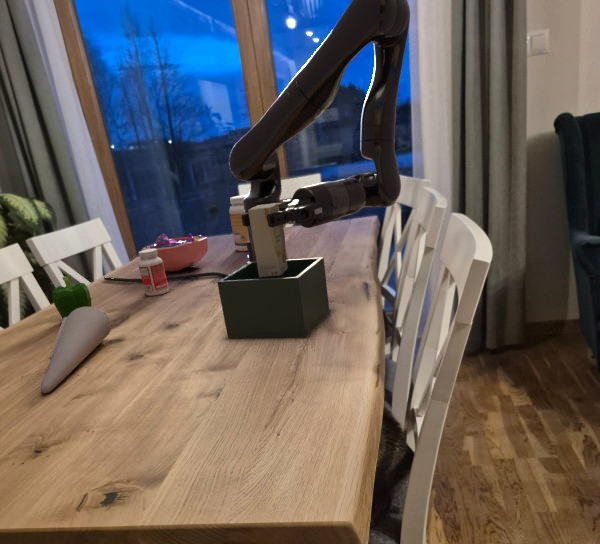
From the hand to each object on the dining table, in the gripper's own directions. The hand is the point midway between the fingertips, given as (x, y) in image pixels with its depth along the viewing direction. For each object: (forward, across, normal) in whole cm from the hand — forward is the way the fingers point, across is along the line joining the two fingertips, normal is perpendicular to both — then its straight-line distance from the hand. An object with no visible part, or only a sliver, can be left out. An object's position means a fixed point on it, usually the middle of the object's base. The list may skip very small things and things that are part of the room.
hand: (255, 220), depth 103 cm
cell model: (-25, -73, +20) cm, 80 cm away
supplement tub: (-55, -74, +20) cm, 95 cm away
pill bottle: (-5, -53, +20) cm, 57 cm away
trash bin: (-2, 0, +20) cm, 20 cm away
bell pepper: (+18, -51, +20) cm, 57 cm away
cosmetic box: (-2, 0, +10) cm, 10 cm away
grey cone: (+31, -18, +20) cm, 41 cm away
